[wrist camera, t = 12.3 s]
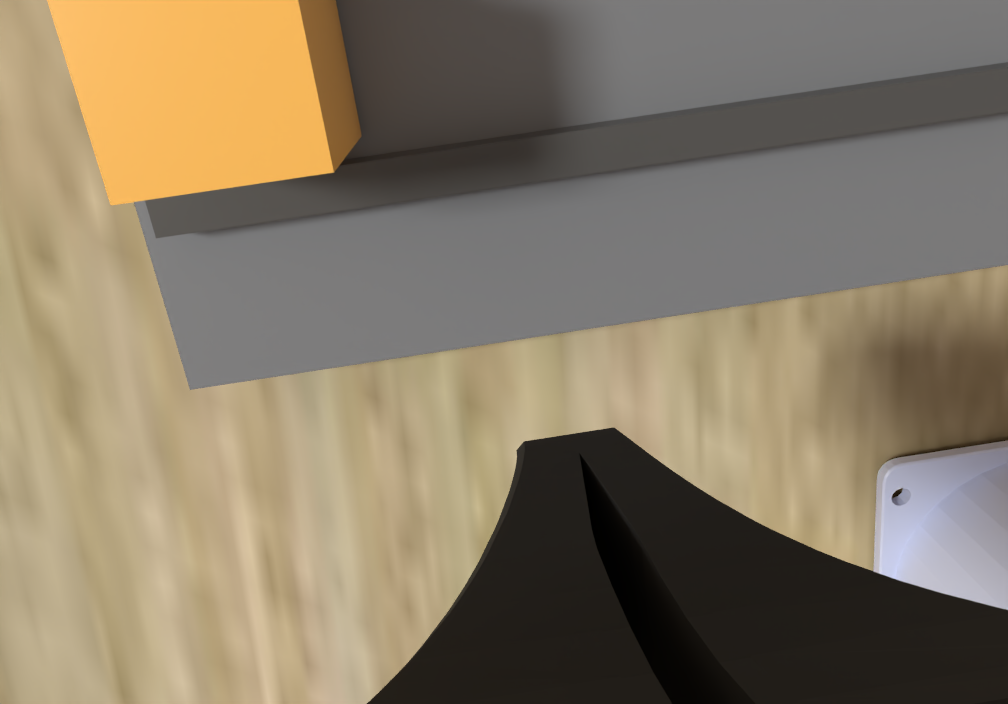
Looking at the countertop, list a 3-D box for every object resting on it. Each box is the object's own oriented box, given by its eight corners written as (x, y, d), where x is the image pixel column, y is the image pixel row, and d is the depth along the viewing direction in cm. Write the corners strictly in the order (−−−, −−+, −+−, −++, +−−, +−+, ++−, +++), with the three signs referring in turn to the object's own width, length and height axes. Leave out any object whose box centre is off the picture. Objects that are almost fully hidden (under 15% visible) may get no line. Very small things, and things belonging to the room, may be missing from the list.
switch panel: (960, 228, 20) (1072, 268, 17) (225, 339, 20) (179, 406, 16) (1003, -386, 16) (1167, -509, 12) (60, -260, 15) (-54, -348, 12)
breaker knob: (362, 135, 15) (333, 172, 11) (199, 159, 15) (111, 205, 11) (327, -44, 14) (282, -75, 10) (152, -18, 14) (34, -41, 10)
